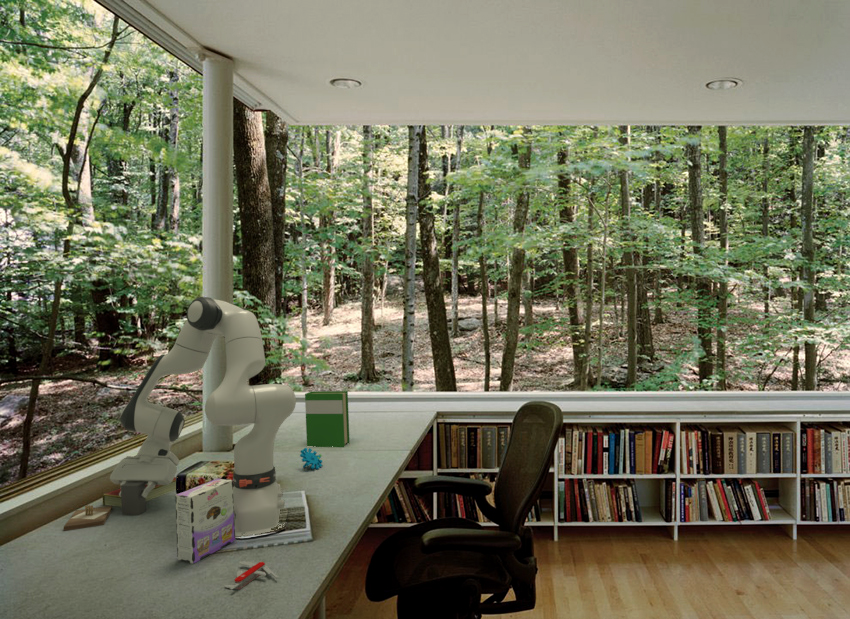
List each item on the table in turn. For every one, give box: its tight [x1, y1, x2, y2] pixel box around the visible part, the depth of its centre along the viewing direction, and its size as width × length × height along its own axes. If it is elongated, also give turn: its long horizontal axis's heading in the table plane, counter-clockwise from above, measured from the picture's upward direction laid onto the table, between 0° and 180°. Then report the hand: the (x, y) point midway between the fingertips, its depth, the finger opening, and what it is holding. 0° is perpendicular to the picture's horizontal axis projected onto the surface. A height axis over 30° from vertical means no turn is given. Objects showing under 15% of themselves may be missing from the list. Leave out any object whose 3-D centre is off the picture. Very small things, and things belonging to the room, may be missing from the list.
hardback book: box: [304, 390, 350, 448], centre depth 244 cm, size 18×7×24 cm, turn 79°
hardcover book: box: [102, 476, 177, 508], centre depth 182 cm, size 12×21×4 cm, turn 157°
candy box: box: [174, 477, 236, 565], centre depth 137 cm, size 14×6×16 cm, turn 154°
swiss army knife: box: [223, 560, 279, 590], centre depth 120 cm, size 12×14×2 cm
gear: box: [299, 447, 323, 470], centre depth 209 cm, size 11×6×10 cm
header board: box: [63, 505, 114, 532], centre depth 162 cm, size 14×10×4 cm
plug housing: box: [120, 482, 147, 516], centre depth 166 cm, size 6×4×9 cm, turn 81°
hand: (132, 496), depth 166 cm, fingers closed on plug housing, 6 cm apart
